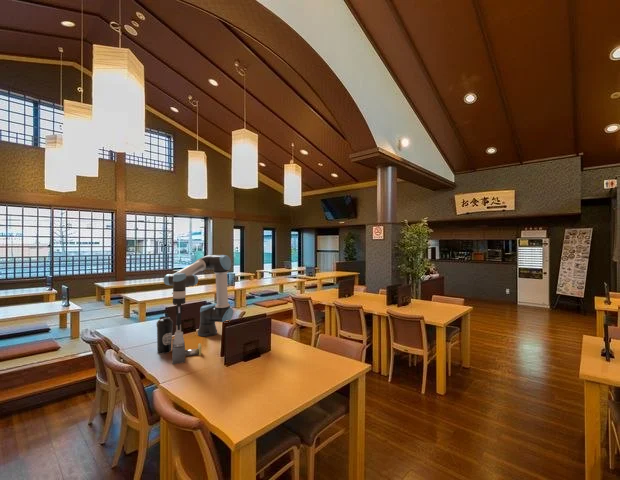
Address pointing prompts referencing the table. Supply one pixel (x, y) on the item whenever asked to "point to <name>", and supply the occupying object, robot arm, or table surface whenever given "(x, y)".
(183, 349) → the hitch beam
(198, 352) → the lynch pin
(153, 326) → the table surface
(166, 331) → the water bottle
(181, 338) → the plate
